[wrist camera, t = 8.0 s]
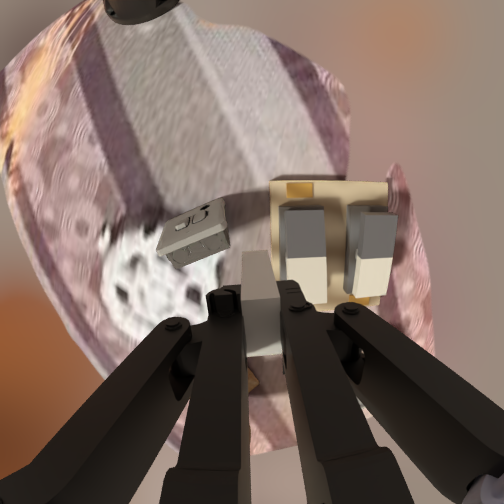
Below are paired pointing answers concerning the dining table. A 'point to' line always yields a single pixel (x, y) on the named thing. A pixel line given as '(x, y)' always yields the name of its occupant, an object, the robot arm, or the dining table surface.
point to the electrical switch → (195, 234)
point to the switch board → (327, 228)
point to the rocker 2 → (374, 253)
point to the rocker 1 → (307, 252)
